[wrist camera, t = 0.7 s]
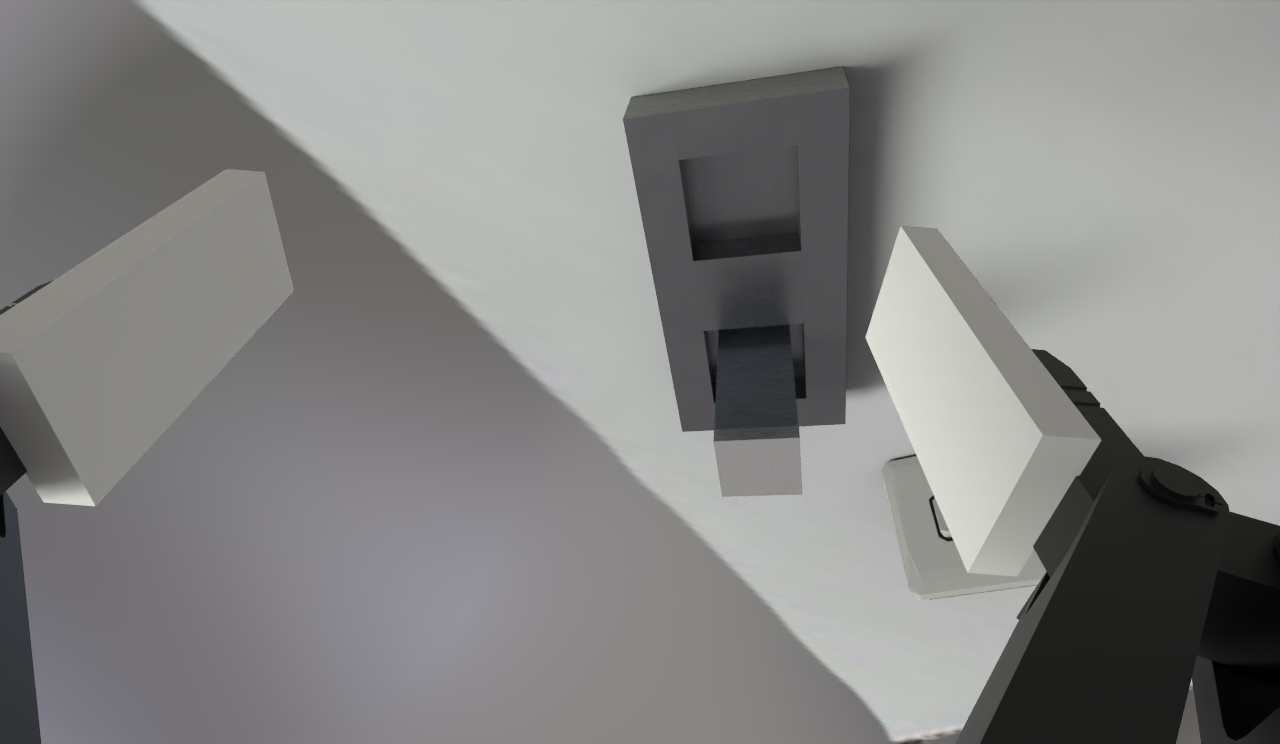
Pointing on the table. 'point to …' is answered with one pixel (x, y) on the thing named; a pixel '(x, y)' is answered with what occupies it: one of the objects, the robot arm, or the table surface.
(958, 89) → the table surface
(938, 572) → the electrical switch
